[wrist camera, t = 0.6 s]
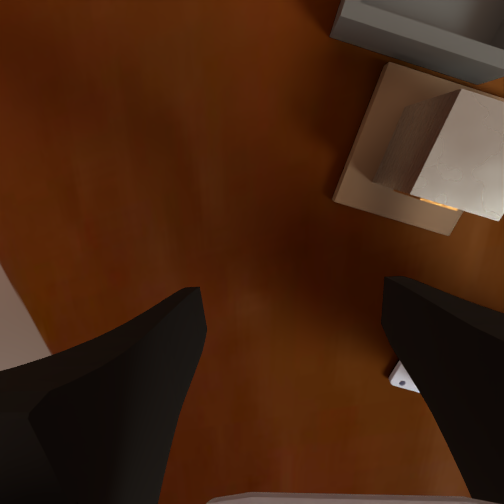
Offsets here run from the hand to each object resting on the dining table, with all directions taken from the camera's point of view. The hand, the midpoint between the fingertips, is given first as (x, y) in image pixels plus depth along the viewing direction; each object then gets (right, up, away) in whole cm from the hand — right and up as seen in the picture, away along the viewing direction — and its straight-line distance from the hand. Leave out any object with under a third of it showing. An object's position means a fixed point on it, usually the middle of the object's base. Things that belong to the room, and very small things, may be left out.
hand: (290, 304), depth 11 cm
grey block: (+9, +8, +6) cm, 13 cm away
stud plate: (+9, +8, +7) cm, 14 cm away
